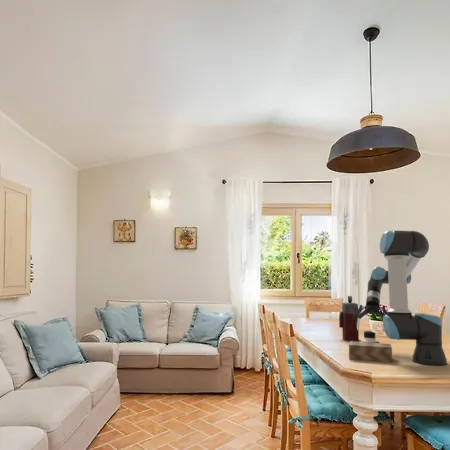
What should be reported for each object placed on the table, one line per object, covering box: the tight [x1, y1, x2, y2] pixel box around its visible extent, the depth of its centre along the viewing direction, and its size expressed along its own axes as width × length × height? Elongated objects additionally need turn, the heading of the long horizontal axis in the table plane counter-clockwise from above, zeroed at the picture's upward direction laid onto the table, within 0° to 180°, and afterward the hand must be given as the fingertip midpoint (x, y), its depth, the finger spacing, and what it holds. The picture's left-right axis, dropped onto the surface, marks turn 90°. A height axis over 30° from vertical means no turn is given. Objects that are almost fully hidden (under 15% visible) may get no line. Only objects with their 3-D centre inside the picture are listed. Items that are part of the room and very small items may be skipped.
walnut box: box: [348, 341, 393, 363], centre depth 218 cm, size 20×12×7 cm, turn 72°
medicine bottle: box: [360, 330, 380, 343], centre depth 230 cm, size 7×7×12 cm
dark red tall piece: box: [338, 295, 360, 342], centre depth 281 cm, size 9×11×28 cm
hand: (370, 329), depth 237 cm, fingers open, 13 cm apart
